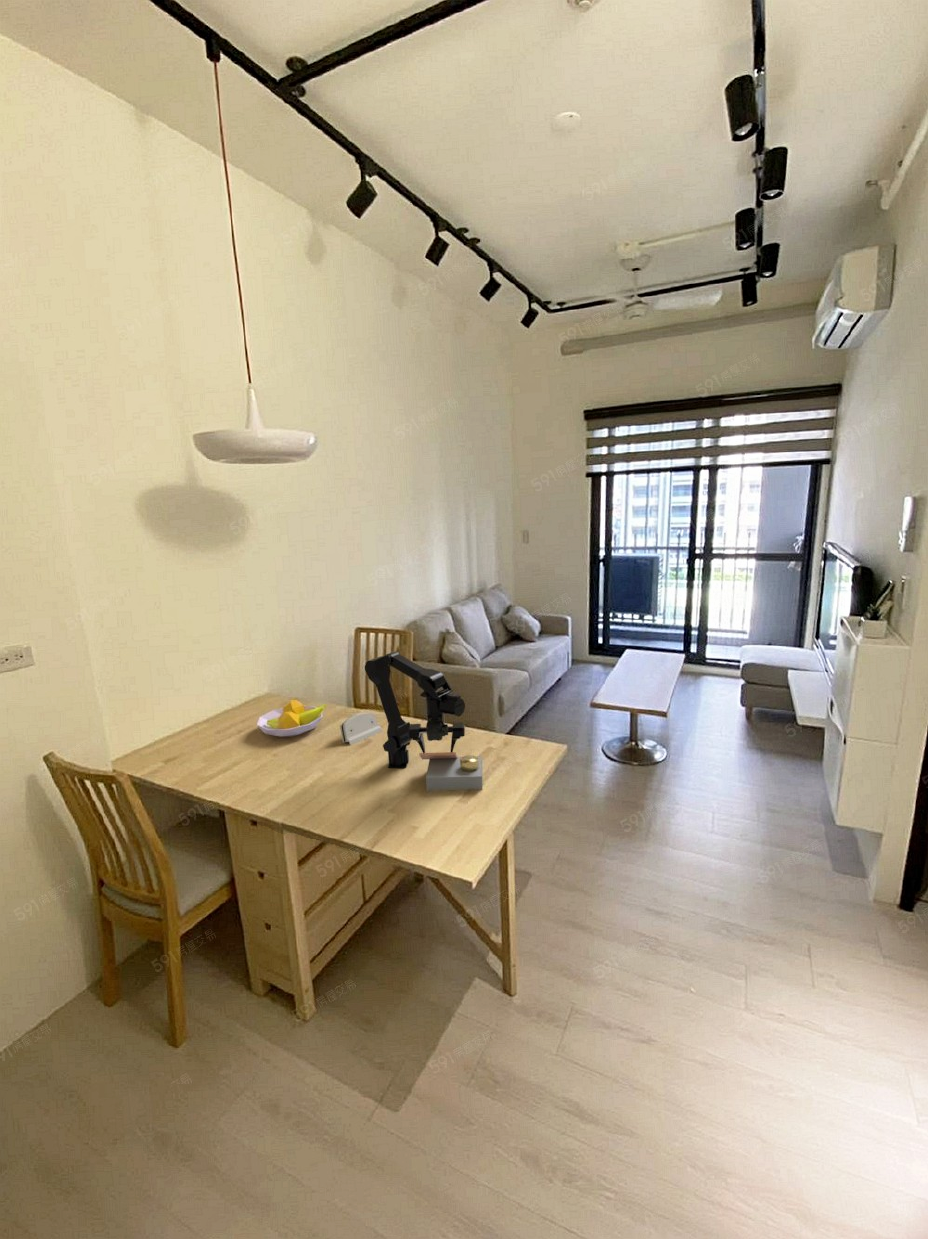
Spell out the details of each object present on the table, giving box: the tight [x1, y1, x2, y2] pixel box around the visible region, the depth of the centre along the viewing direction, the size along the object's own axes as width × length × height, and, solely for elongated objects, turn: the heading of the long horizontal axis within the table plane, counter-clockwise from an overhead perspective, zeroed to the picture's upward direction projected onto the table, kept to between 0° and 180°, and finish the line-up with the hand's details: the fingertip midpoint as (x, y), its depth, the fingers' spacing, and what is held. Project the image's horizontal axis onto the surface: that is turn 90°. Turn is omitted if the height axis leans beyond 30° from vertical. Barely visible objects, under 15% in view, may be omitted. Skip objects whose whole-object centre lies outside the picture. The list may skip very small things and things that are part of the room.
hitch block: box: [425, 755, 483, 791], centre depth 184 cm, size 18×14×4 cm
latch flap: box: [418, 751, 458, 760], centre depth 186 cm, size 12×1×9 cm
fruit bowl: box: [256, 699, 327, 737], centre depth 230 cm, size 28×27×11 cm
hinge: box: [339, 712, 383, 746], centre depth 221 cm, size 17×5×10 cm, turn 139°
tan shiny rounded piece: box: [460, 754, 479, 772], centre depth 182 cm, size 6×6×7 cm
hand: (438, 753), depth 185 cm, fingers open, 9 cm apart
